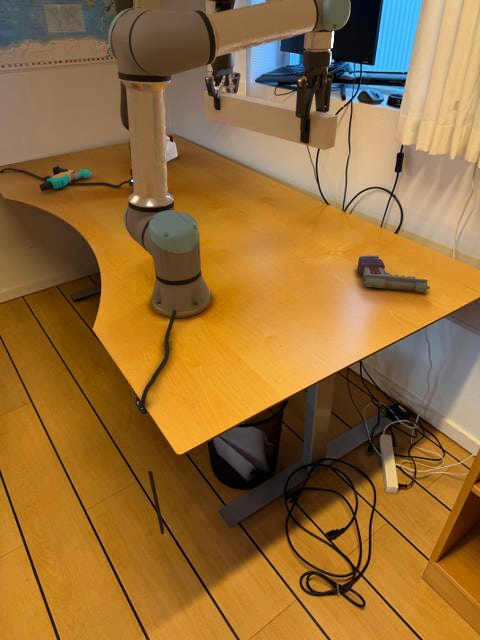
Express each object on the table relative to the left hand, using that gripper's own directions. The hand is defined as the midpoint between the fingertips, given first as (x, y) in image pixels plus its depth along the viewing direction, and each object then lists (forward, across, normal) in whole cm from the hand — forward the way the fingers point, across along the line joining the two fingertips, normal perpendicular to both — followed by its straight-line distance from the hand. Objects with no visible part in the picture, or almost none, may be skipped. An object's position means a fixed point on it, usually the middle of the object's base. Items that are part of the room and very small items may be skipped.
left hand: (223, 108), depth 160 cm
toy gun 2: (+33, +5, +74) cm, 82 cm away
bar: (+4, 0, +19) cm, 19 cm away
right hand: (+3, 0, +38) cm, 38 cm away
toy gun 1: (+34, +35, -65) cm, 82 cm away
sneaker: (+34, -9, -56) cm, 66 cm away
